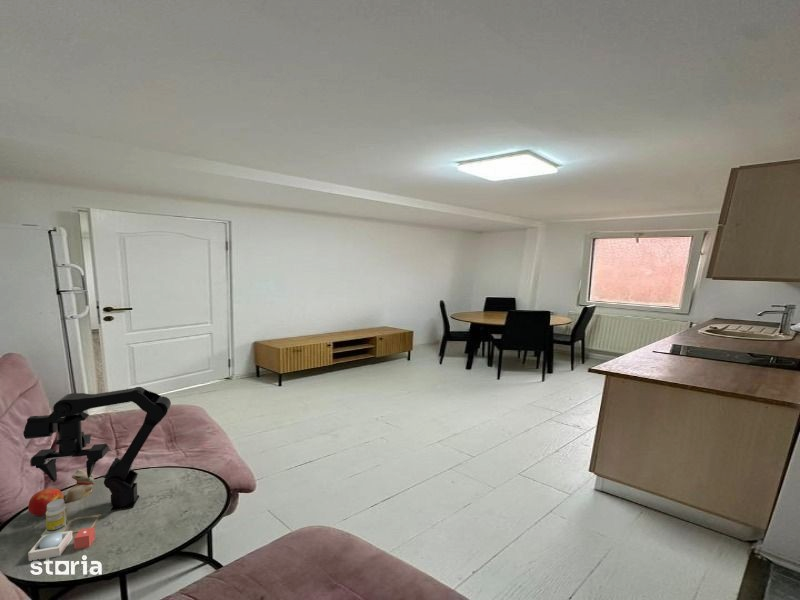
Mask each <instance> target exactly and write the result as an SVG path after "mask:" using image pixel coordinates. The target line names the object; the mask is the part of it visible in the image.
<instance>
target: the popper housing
mask: <svg viewBox="0 0 800 600" xmlns="http://www.w3.org/2000/svg"><path fill="white" fill-rule="evenodd" d="M72 531H73V530H67V531H66V532H60V533H62V541H61V542H60V544H59V545H58V546H57V547H51V548H45V549H40V543H39V542H40V540H41V539H42V538H43V537H45V536H47V535H49V534H47V535H43V536H41V537H40V538H39V540H37V542H36V543H35V544H34V546H32V547H31V549H30V551H28V553H27V554H28V555H27V556H28V562H32V560H33V561H38V560H37V559H39V560H44V559H50V558H56V557H60V556H61V555H62V554H63V552H64V551H65V550H66V548H67V547H68V545H69V544H70V542H71V541H72V540H73V539H74V537H73V533H72Z"/></svg>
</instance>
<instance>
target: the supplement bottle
mask: <svg viewBox="0 0 800 600" xmlns="http://www.w3.org/2000/svg"><path fill="white" fill-rule="evenodd" d="M64 500H65V499H64V498H63V499H56V500H53V501H51V502H49V503H48V504H47V511H46V516H45V522H46V529H47V532H49V533H53V532H57V531H60V530H62V529H63V528H65V527H66V525H67V521H68V514H67V513H68V512H67V506H66V504H65V501H64Z"/></svg>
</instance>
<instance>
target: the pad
mask: <svg viewBox="0 0 800 600" xmlns="http://www.w3.org/2000/svg"><path fill="white" fill-rule="evenodd" d="M72 521H73V519H70V520H67V525H66V527H65V528H63V529H62V530H60V531H57V532H64V531H65V530H66V528H67V527H68V526H69V524H70V523H71V522H72ZM53 533H56V532H53ZM47 534H52V533H49V532H47V528H45V530H44V531H43V532H42V533H41V534H40V538H41V537H42V536H43V535H47Z"/></svg>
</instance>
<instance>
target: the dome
mask: <svg viewBox="0 0 800 600" xmlns="http://www.w3.org/2000/svg"><path fill="white" fill-rule="evenodd" d="M39 540H40V539H39ZM61 541H62V533H60V532H56V533H52V534H49V535H47V536H45V537H43V538H42V539H41V540H40V542H39V543H40V549H45V548H51V547H57V546H58V545H59V544H60V542H61Z"/></svg>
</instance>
